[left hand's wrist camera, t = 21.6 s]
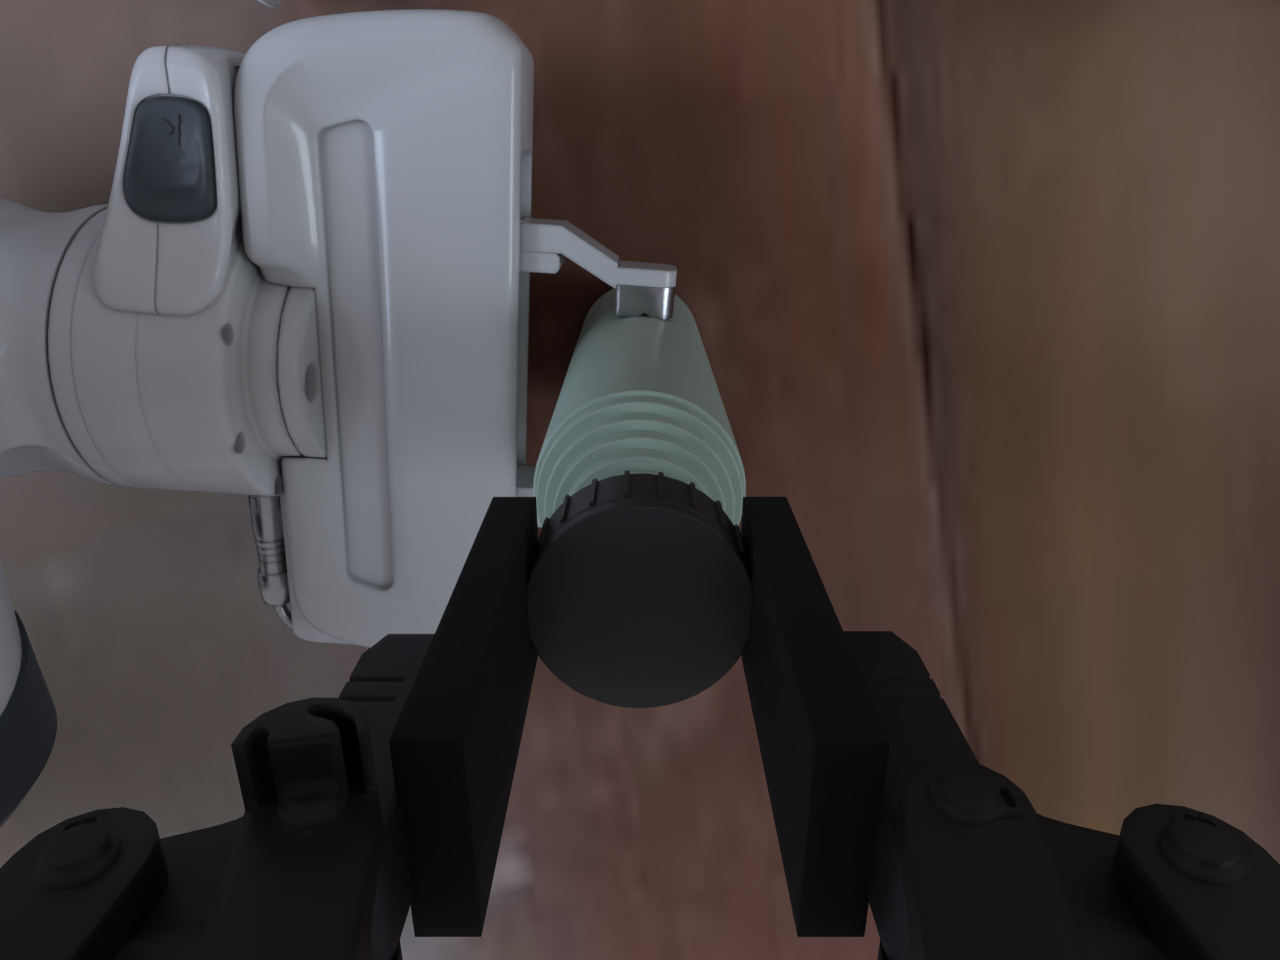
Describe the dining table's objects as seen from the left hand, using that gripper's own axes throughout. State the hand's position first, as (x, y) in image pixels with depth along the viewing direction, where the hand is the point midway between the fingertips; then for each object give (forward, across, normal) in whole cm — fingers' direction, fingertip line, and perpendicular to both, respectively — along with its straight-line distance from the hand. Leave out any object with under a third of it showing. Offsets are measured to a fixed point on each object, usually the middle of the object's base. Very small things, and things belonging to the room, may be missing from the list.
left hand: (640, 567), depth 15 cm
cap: (-1, 0, 0) cm, 1 cm away
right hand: (+13, -1, 0) cm, 13 cm away
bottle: (+19, 0, 0) cm, 19 cm away
